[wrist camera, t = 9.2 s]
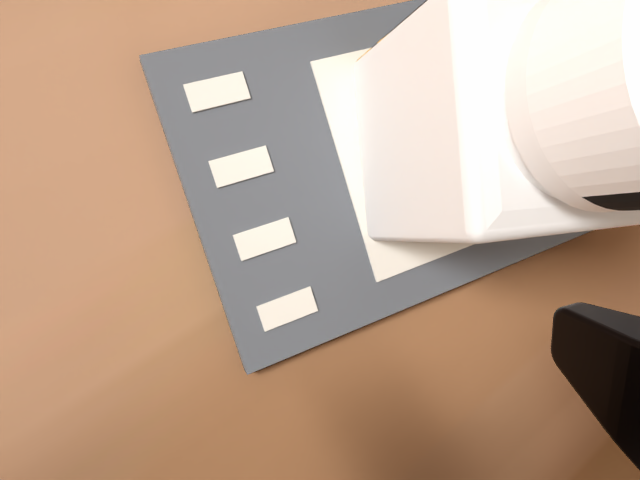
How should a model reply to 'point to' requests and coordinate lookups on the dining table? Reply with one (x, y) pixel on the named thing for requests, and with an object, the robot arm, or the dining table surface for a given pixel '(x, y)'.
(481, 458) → the dining table surface
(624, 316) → the robot arm
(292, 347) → the label mat
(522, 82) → the medicine bottle
